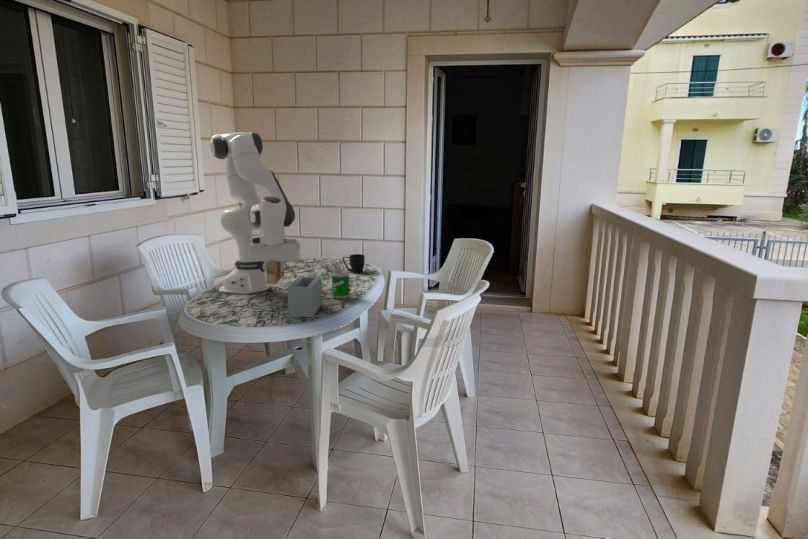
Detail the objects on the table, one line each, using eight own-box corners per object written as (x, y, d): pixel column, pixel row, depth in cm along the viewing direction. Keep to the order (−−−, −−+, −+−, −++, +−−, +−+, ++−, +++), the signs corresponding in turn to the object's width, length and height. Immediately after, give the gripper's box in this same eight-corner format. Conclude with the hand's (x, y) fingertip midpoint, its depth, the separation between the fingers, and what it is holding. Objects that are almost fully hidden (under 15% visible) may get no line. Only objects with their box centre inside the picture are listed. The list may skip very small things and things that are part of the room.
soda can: (341, 294, 207) (340, 268, 205) (352, 297, 203) (352, 271, 200) (328, 297, 202) (328, 271, 199) (340, 301, 197) (339, 274, 194)
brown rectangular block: (275, 283, 177) (274, 264, 175) (267, 283, 177) (265, 263, 175) (283, 275, 189) (283, 257, 187) (276, 275, 189) (275, 257, 187)
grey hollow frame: (289, 317, 175) (287, 288, 173) (300, 303, 193) (299, 276, 190) (312, 318, 175) (310, 288, 172) (321, 304, 193) (320, 276, 190)
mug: (344, 270, 253) (343, 254, 251) (365, 270, 253) (365, 254, 251) (341, 274, 245) (341, 257, 243) (363, 274, 245) (363, 257, 243)
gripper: (301, 237, 182) (302, 271, 185) (251, 236, 182) (253, 269, 185) (297, 240, 175) (298, 274, 179) (245, 239, 176) (247, 273, 179)
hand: (275, 272), depth 182 cm, fingers closed on brown rectangular block, 3 cm apart
